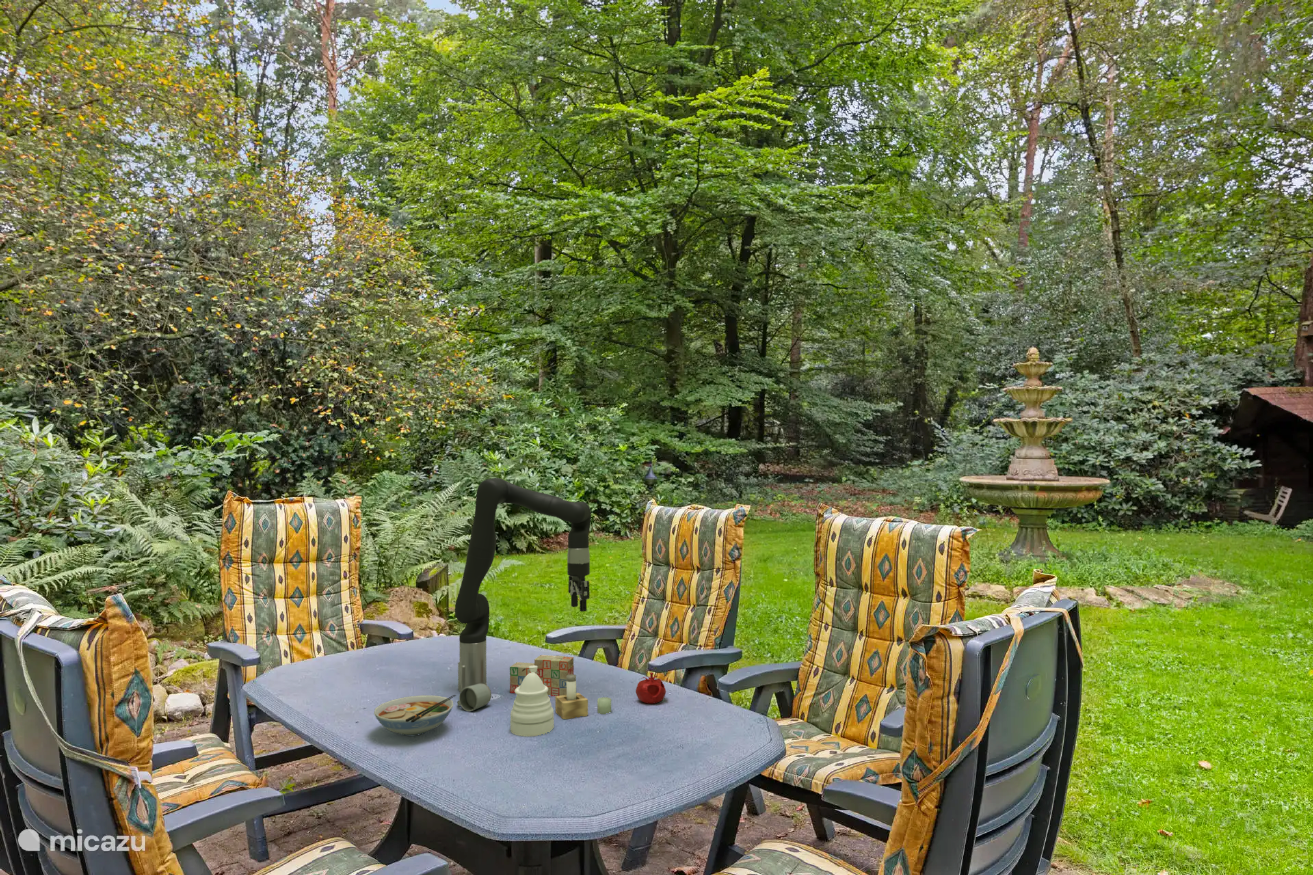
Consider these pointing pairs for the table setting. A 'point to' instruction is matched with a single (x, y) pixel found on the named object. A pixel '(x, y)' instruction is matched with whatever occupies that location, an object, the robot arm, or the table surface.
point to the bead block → (571, 706)
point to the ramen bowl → (413, 713)
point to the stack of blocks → (545, 673)
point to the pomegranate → (650, 690)
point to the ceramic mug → (474, 697)
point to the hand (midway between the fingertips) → (578, 609)
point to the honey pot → (531, 707)
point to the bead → (604, 705)
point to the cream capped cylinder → (571, 687)
